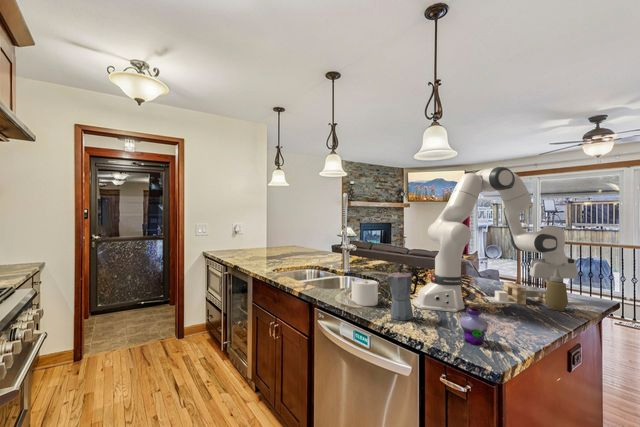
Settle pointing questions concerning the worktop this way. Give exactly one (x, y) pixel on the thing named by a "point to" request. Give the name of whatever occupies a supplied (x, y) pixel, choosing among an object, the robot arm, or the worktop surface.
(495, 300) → the mat
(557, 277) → the squeeze bottle
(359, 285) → the toilet tissue
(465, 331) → the potion bottle
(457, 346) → the worktop surface
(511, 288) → the bearing block
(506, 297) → the block
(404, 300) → the moka pot
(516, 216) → the robot arm
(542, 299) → the rear saddle
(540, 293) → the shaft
